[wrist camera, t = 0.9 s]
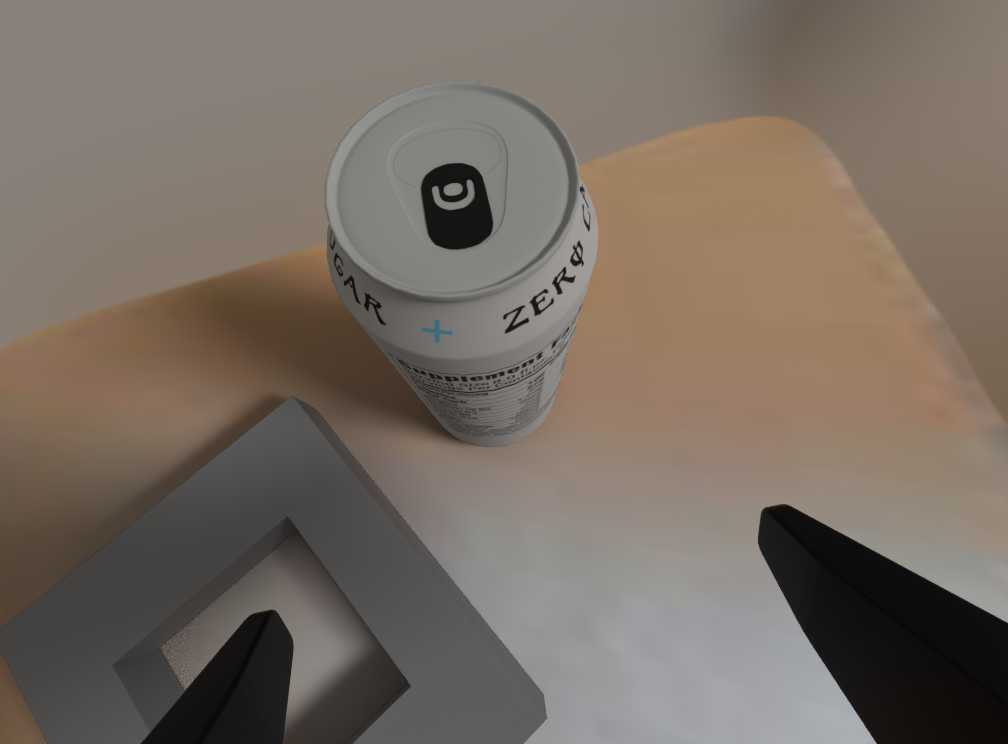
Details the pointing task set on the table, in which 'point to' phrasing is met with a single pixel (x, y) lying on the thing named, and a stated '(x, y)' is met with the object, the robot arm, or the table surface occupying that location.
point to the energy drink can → (464, 250)
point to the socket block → (229, 556)
